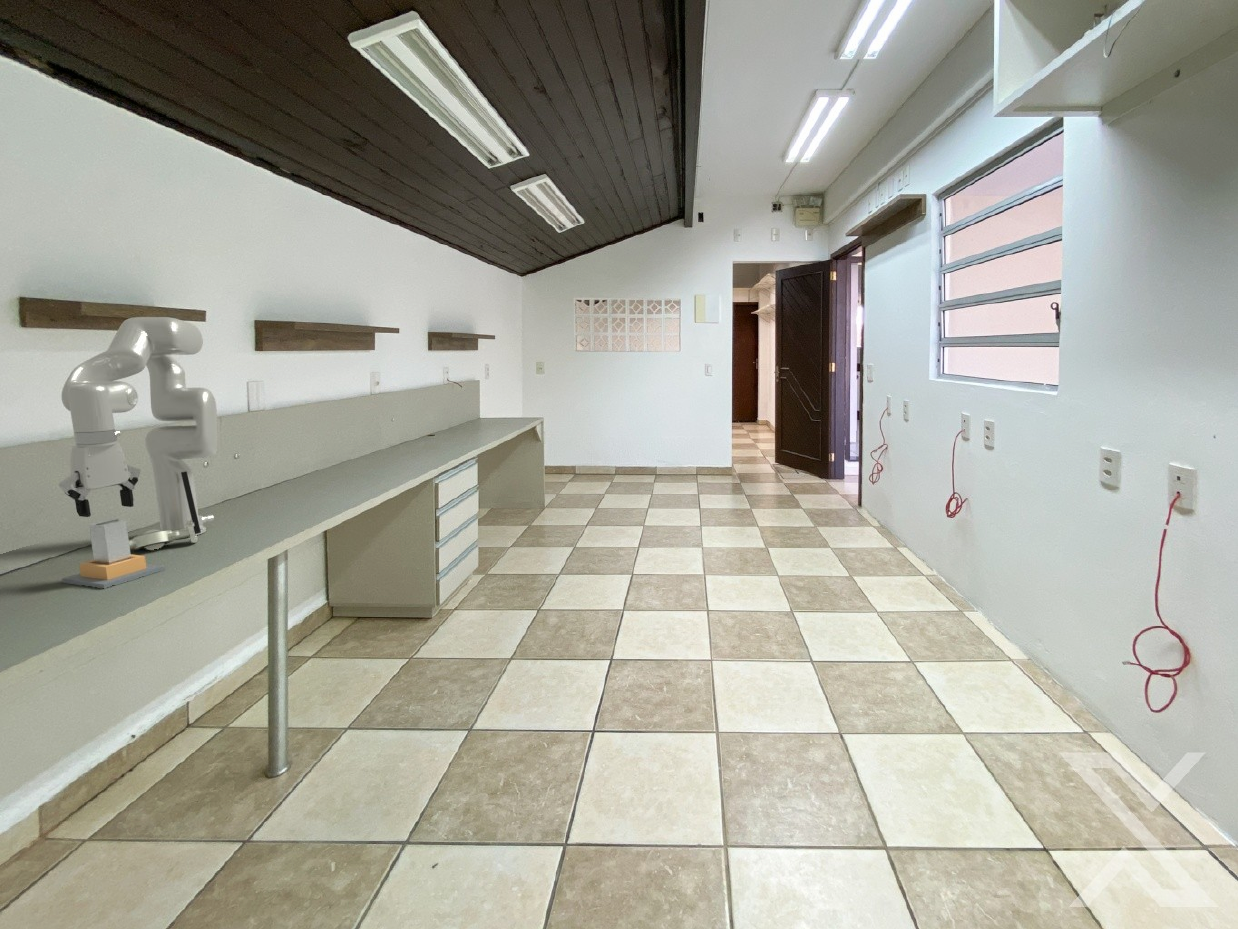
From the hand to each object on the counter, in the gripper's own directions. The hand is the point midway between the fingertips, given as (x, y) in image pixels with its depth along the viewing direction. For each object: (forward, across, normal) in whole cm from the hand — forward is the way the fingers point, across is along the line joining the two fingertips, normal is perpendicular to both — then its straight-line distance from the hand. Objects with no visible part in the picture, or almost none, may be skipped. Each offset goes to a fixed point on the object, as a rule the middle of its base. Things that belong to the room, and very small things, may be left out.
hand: (106, 511), depth 158 cm
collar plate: (+16, +1, 0) cm, 16 cm away
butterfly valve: (+17, -21, -12) cm, 29 cm away
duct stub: (+15, +1, 0) cm, 15 cm away
